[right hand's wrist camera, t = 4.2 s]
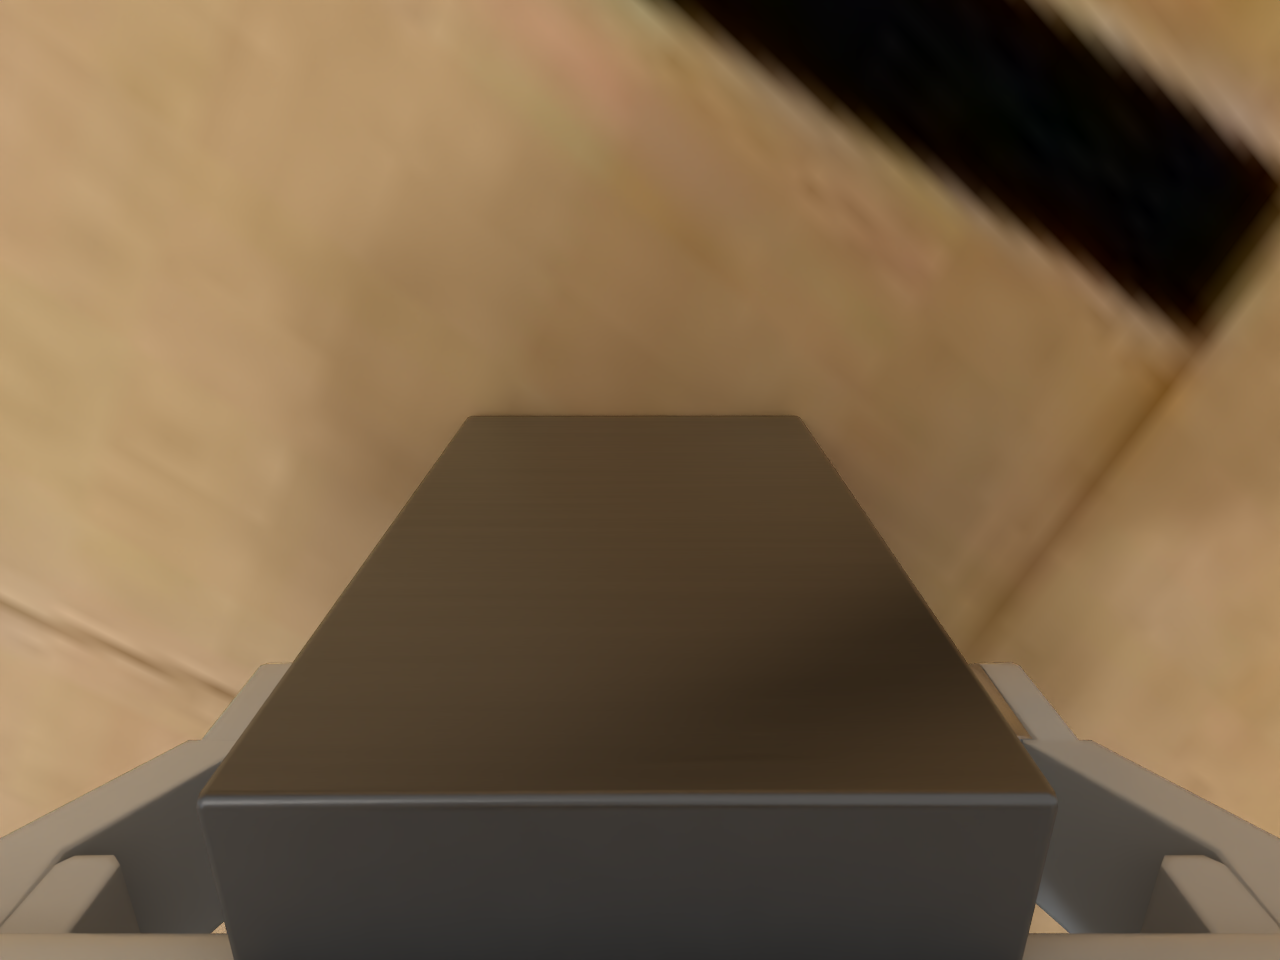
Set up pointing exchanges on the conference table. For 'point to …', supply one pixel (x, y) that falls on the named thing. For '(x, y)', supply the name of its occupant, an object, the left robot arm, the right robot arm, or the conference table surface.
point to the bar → (629, 725)
